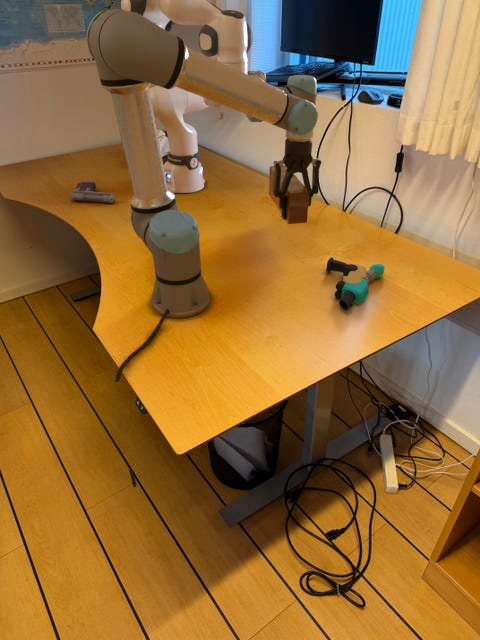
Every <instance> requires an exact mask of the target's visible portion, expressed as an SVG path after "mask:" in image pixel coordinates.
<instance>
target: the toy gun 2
mask: <svg viewBox="0 0 480 640" xmlns="http://www.w3.org/2000/svg"><path fill="white" fill-rule="evenodd" d="M325 269H326V270H325V271H326V273H331V271H333V272H338V273H341V274H342V278H341V279H340V280H339V281H338V282H337V283H336V285H335V290H336V291H335V292H334V297H335V298H337V299H339V300H338V306H339V307H340V308H341V309H342V310H343V311H345V312H348V311H349V309H351V307H353V305H354V303H355V304H361V303H362V302H363V301H365V300H366V299H367V296H368V295H369V283H370V282H372V281H373V280H375V279H379V278H381V277H382V276H383V275H384V272H385V269H386V268H385V265H384V264H382V263H374V264H372V265H371V266H370V267H369V269H366V267H365V266H364V265H359V264H353V263H347V262H343V261H341V260H338V259H334V257H329V259H328V260H327V261H326V268H325Z"/></svg>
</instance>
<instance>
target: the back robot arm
mask: <svg viewBox="0 0 480 640" xmlns="http://www.w3.org/2000/svg"><path fill="white" fill-rule="evenodd" d="M119 3H120V4H119V6H120V9H123V10H125V11H131V12H135V13H138V14H140V15H142V16H143V17H145V18H147V19H148V20H150V21H152V22H153V23H155V24H156V25H158V26H159V27H161V28H163V29H164V30H166V31H168V32H170V31H171V30H172V29H173V27H174V26H175V25H176V24H177V25H179V26H202V27H201V28H200V30H199V34H198V47H199V48H200V51H201V54H203V55H206V56H208V57H210V58H212V59H214V58H215V59H216V58H219V62H221V63H223V64H226V65H228V66H230V67H232V68H234V69H237V70H239V71H241V72H243V73H245V74H248V75H250V76H252V77H254V78H257V79H259V80H261V81H263V82H265V83H267V76H266V73H265V72H263V71H262V70H249V58H248V55H247V54H248V52H249V51H250V50H251V48H252V45H253V42H254V34H253V30H252V28H251V26H250V25H249V24H248V22H247V19H246V15H245V14H244V13H242V12H241V11H238V10H233V9H225V10H223V9H222V8H220V7H218V6H217V5H215V4H214V3H212V2H210V1H208V0H120V1H119ZM149 91H150V97H151V102H152V107H153V113H154V118H157V119H158V120H159V121H160V123H161V124H162V125H163V127H164V129H165V131H167V136H168V142H169V149H170V152H166V153H169V154H167V155H165V163H163V166H164V172H165V177H166V182H167V188H168V189H169V190H171V191H173V192H174V194H189V193H196V192H198V191H201V190H203V189H204V188H205V183H206V179H205V178H204V175H203V169H204V168H203V166H202V163H201V162H200V160H201V159H200V157H201V156H200V151H199V147H198V146H199V145H198V133H197V130H196V128H195V127H194V126H193V125H190V124H188V123H187V122H185V120H184V115H187V114H191V113H197V112H201V111H203V110H205V109H207V108H209V107H210V106H214V110H215V111H216V112H217V116H218V120H224V112H220V106H222V105H221V104H219V103H216V102H214V101H211V100H209V99H206V98H203V97H201V96H198V95H196V94H193V93H191V92H188V91H185V90H183V89H180V88H178V87H174V88H172V89H170V90H168V89H166V88H163V87H160V86H157V85H154V86H152V87H149ZM245 118H247V116H246V115H245Z"/></svg>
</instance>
